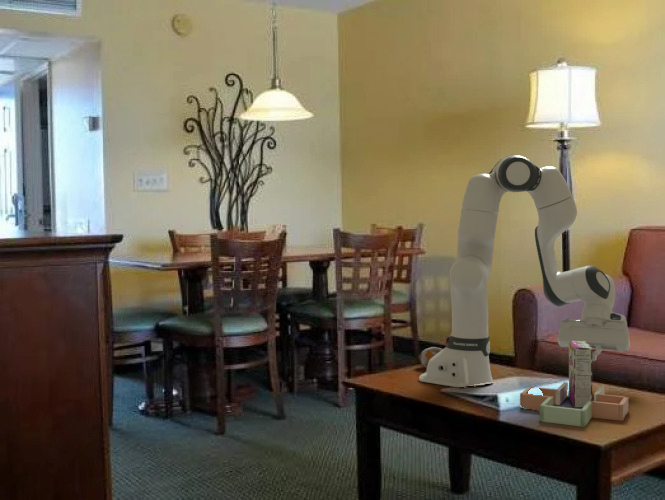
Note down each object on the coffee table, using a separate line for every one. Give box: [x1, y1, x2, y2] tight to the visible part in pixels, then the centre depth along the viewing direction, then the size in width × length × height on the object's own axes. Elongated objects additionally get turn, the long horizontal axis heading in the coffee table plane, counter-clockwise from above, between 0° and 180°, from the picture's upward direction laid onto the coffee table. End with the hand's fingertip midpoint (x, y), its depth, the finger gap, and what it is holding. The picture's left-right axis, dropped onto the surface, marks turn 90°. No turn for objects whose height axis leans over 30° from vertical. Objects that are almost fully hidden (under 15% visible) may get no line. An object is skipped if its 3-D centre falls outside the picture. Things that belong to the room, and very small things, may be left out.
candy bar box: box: [568, 341, 593, 409], centre depth 217 cm, size 11×5×16 cm, turn 171°
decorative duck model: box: [417, 346, 444, 369], centre depth 264 cm, size 15×8×15 cm
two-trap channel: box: [519, 381, 629, 428], centre depth 210 cm, size 26×30×4 cm
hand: (590, 359), depth 230 cm, fingers closed
